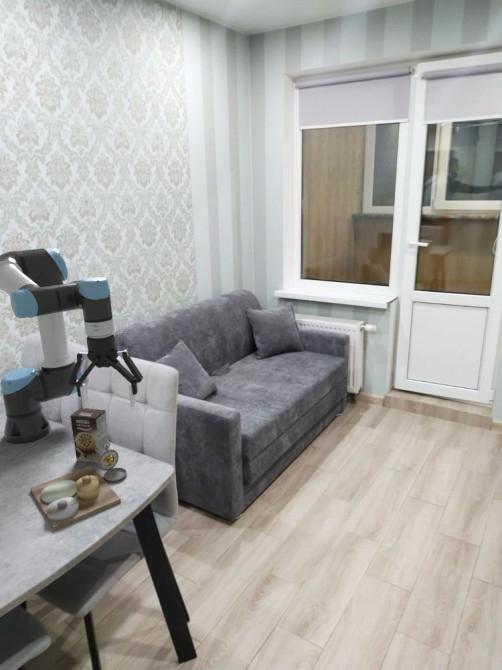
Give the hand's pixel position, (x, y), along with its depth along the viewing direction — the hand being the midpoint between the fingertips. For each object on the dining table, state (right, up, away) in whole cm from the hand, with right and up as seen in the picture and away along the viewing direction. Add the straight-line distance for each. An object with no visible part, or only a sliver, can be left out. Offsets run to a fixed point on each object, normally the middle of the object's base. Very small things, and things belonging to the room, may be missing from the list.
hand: (109, 405), depth 136 cm
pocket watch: (-1, -23, +9) cm, 24 cm away
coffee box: (-11, -20, +19) cm, 29 cm away
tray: (-10, -26, -1) cm, 27 cm away
